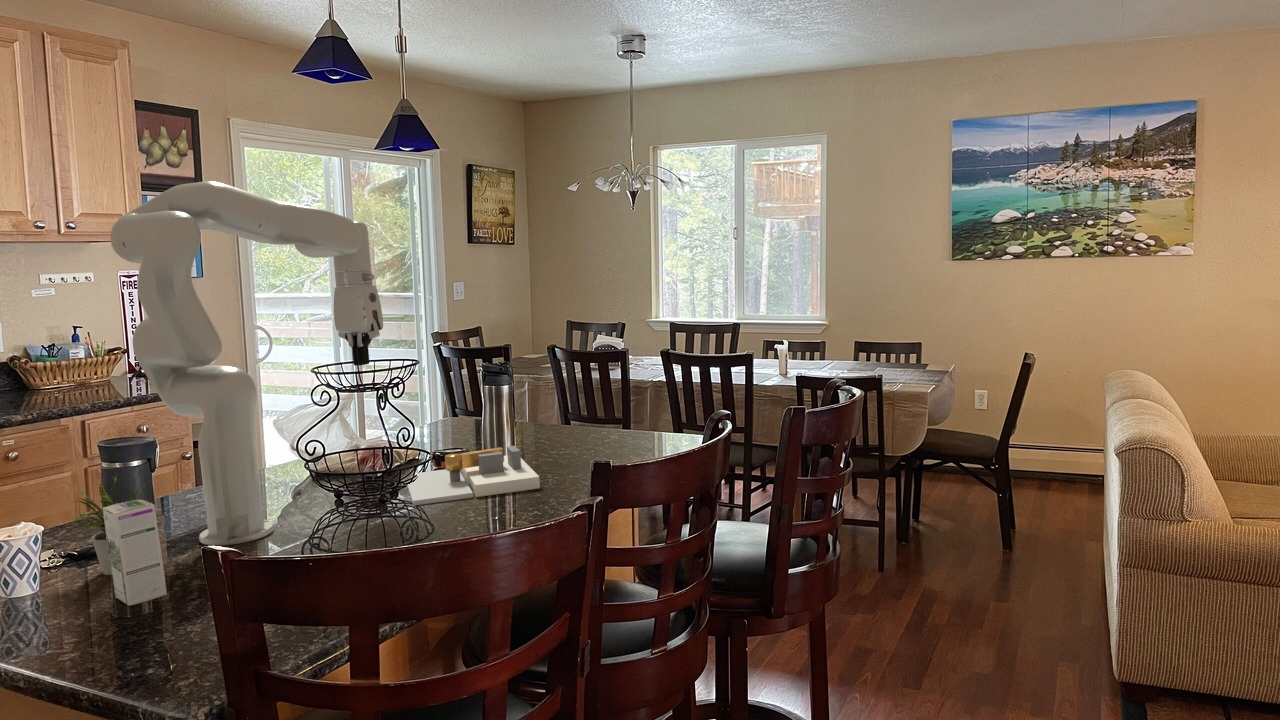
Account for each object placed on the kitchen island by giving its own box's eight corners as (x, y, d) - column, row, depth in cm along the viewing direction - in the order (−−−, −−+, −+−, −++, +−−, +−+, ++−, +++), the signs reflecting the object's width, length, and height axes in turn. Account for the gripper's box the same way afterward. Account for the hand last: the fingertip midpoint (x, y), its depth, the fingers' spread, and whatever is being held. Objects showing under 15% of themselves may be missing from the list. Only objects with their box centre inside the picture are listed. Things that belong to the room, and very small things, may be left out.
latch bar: (448, 472, 189) (447, 458, 189) (444, 468, 192) (442, 455, 192) (505, 462, 195) (504, 449, 194) (500, 459, 198) (499, 446, 198)
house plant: (56, 571, 149) (43, 476, 147) (146, 549, 158) (135, 459, 156) (78, 591, 138) (65, 489, 137) (173, 565, 148) (161, 470, 146)
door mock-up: (540, 488, 186) (538, 458, 185) (413, 505, 177) (410, 474, 177) (517, 464, 208) (515, 437, 207) (404, 478, 200) (401, 450, 199)
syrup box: (168, 594, 135) (157, 502, 133) (126, 607, 131) (114, 512, 129) (154, 586, 139) (143, 497, 137) (112, 599, 134) (100, 506, 133)
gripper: (392, 277, 189) (400, 362, 192) (340, 280, 196) (348, 362, 198) (368, 279, 183) (375, 367, 185) (314, 282, 189) (323, 366, 192)
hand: (361, 364), depth 192 cm, fingers closed
